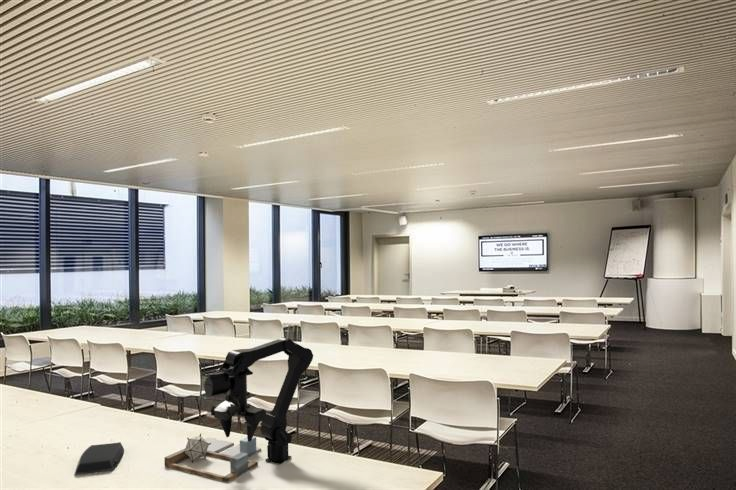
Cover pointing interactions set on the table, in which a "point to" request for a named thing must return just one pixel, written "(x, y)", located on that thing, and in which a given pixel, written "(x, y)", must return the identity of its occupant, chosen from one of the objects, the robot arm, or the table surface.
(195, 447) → the game die
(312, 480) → the table surface
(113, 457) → the external hard drive
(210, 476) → the wooden tray frame
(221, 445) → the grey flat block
